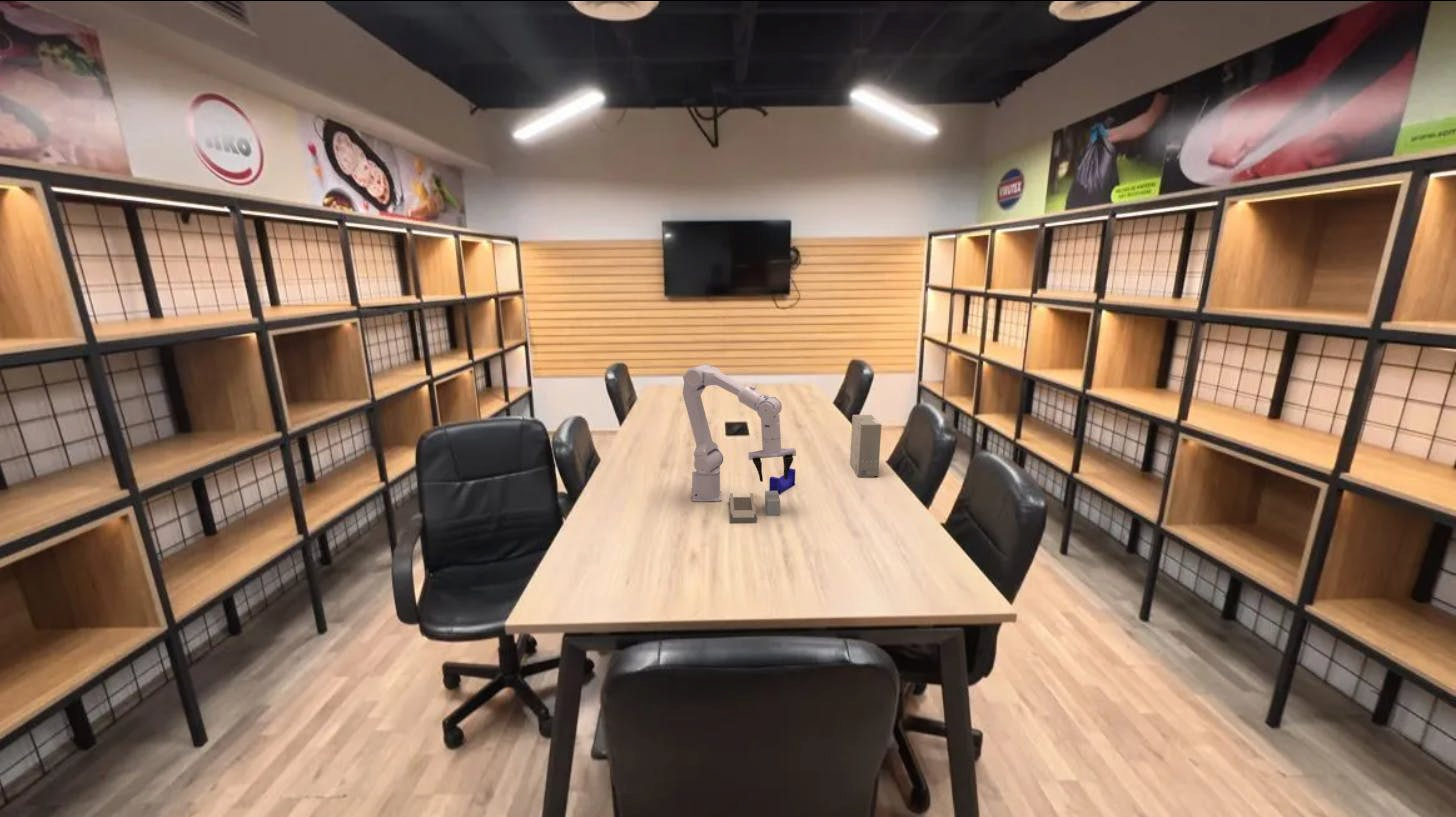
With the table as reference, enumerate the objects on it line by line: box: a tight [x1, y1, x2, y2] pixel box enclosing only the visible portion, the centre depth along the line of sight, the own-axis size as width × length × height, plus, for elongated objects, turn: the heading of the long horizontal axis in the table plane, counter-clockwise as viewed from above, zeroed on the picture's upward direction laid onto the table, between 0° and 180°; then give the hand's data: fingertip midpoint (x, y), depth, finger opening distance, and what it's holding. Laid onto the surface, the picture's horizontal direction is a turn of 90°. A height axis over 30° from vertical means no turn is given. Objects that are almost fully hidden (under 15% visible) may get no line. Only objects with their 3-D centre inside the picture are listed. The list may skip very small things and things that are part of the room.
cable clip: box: [768, 467, 796, 495], centre depth 191 cm, size 12×4×6 cm, turn 143°
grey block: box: [764, 490, 781, 517], centre depth 174 cm, size 4×8×5 cm, turn 1°
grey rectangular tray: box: [728, 492, 758, 524], centre depth 173 cm, size 8×16×4 cm, turn 1°
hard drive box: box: [849, 414, 883, 478], centre depth 207 cm, size 16×8×20 cm, turn 179°
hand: (773, 479), depth 173 cm, fingers open, 7 cm apart
